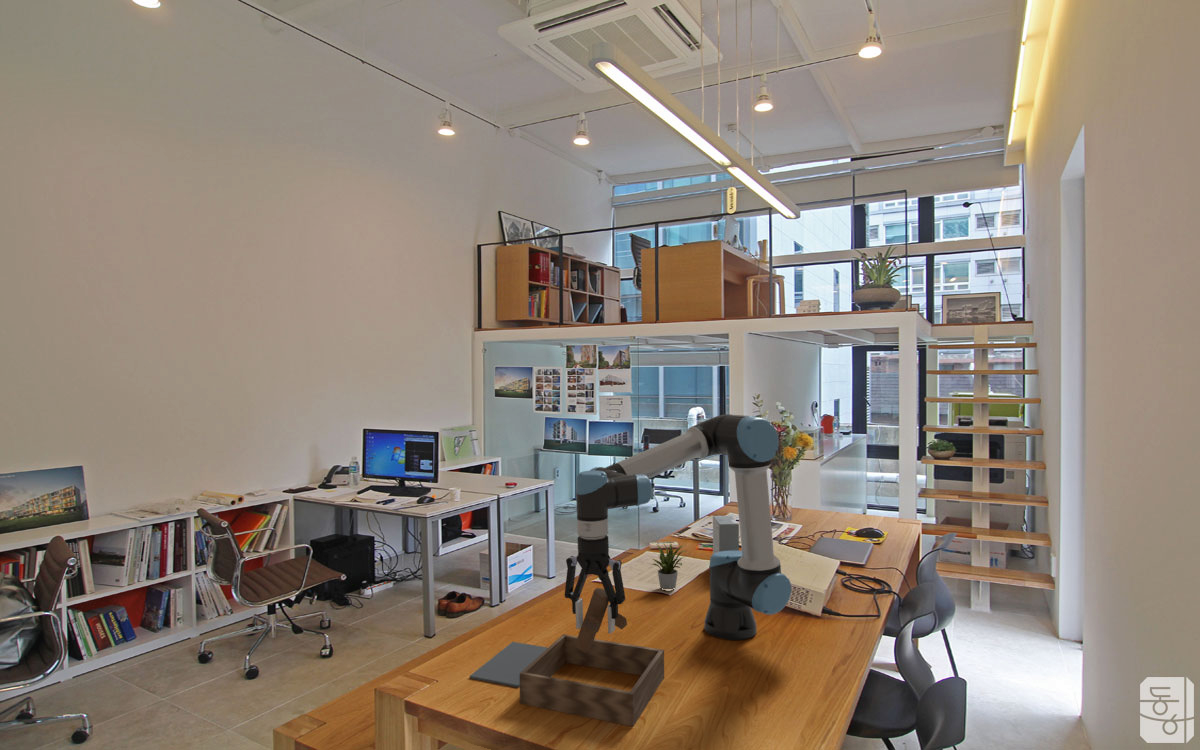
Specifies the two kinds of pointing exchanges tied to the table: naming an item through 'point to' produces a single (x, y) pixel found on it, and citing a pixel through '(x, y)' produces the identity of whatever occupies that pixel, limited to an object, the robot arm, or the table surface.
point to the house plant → (668, 567)
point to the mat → (508, 664)
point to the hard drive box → (725, 534)
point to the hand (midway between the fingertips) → (595, 628)
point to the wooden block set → (595, 620)
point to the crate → (587, 697)
